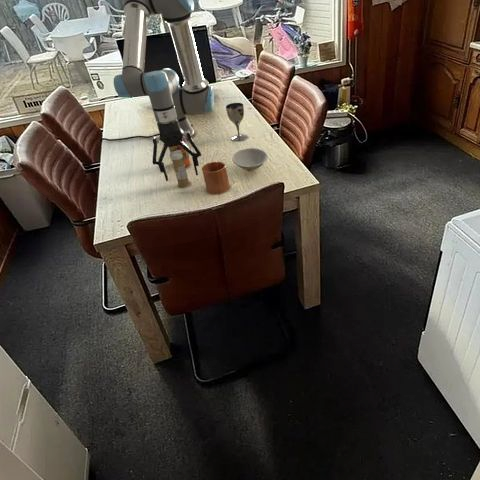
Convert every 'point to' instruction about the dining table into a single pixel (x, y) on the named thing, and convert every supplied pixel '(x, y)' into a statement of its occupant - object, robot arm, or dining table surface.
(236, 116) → the wine glass
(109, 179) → the dining table surface
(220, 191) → the tumbler
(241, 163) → the dish
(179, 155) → the sprinkles bottle
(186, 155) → the smoothie
